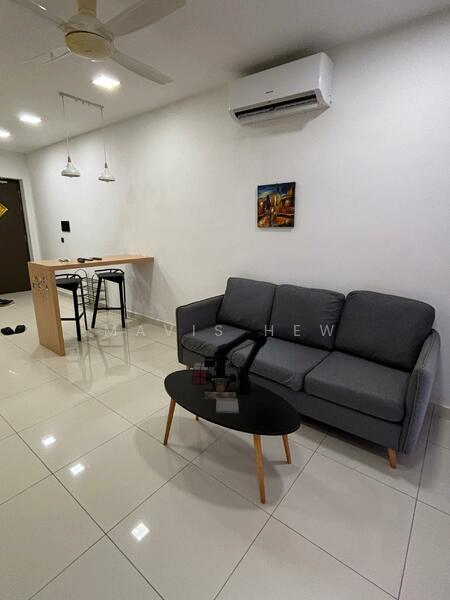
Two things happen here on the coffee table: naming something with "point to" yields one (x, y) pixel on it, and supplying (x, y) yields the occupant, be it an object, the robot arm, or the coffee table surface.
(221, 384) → the ball
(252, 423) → the coffee table surface
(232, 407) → the coaster tray
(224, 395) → the rail
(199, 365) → the puzzle cube
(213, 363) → the robot arm
